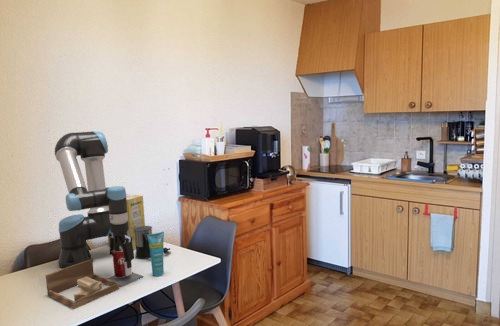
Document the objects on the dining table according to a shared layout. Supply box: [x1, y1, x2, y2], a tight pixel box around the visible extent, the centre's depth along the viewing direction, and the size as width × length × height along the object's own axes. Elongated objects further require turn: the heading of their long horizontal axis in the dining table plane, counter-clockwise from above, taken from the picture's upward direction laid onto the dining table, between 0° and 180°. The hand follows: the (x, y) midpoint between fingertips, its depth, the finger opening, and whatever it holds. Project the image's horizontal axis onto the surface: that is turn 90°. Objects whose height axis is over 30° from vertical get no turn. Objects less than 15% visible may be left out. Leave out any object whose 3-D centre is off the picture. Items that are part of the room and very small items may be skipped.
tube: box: [147, 231, 165, 277], centre depth 177 cm, size 7×5×19 cm, turn 123°
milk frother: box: [134, 225, 171, 260], centre depth 202 cm, size 14×16×15 cm
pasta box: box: [107, 193, 146, 252], centre depth 217 cm, size 18×10×28 cm, turn 60°
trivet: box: [106, 271, 144, 288], centre depth 174 cm, size 12×12×1 cm
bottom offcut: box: [73, 282, 103, 301], centre depth 159 cm, size 5×12×4 cm, turn 172°
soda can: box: [112, 247, 131, 278], centre depth 173 cm, size 7×7×12 cm
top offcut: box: [77, 277, 99, 292], centre depth 159 cm, size 4×9×3 cm, turn 52°
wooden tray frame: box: [45, 259, 121, 310], centre depth 162 cm, size 20×20×9 cm
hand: (123, 272), depth 173 cm, fingers closed on soda can, 7 cm apart
